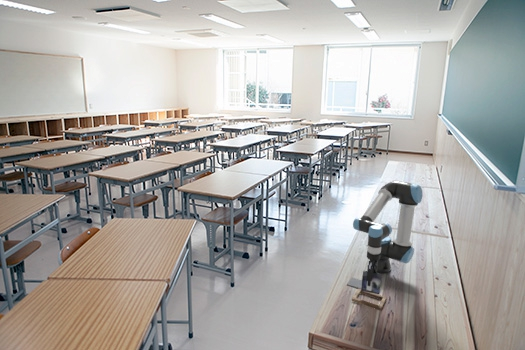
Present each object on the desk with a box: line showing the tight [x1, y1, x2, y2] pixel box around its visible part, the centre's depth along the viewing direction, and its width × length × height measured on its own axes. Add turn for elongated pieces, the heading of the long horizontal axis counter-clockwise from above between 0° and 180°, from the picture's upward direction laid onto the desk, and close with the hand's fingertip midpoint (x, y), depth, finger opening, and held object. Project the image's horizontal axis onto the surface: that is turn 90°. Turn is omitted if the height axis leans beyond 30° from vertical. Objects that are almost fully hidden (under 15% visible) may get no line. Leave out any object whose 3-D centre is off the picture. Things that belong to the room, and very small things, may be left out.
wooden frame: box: [351, 288, 387, 312], centre depth 203 cm, size 13×17×2 cm
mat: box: [346, 277, 362, 290], centre depth 221 cm, size 10×10×1 cm
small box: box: [361, 270, 382, 295], centre depth 201 cm, size 11×6×10 cm, turn 70°
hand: (370, 286), depth 202 cm, fingers closed on small box, 7 cm apart
